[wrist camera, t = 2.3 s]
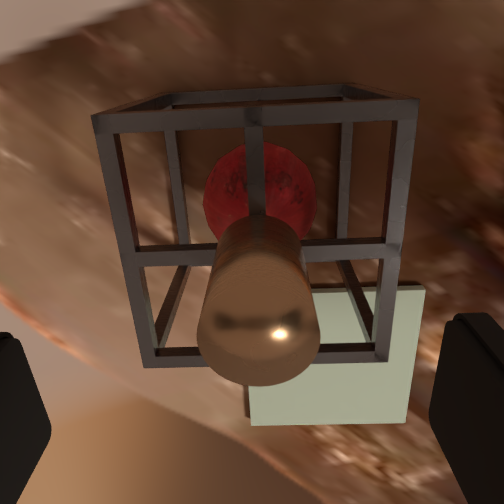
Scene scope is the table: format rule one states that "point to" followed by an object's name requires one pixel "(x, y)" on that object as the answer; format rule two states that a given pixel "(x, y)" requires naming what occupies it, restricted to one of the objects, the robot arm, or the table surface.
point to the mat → (348, 369)
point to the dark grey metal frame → (260, 236)
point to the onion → (276, 190)
